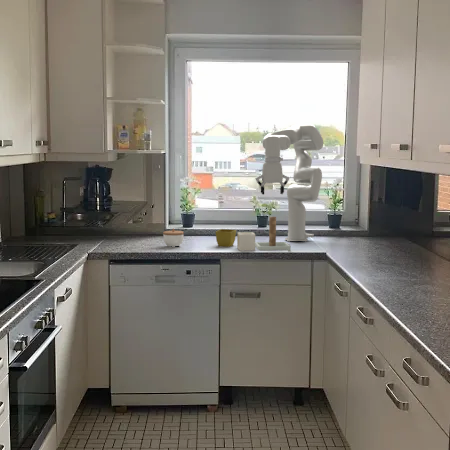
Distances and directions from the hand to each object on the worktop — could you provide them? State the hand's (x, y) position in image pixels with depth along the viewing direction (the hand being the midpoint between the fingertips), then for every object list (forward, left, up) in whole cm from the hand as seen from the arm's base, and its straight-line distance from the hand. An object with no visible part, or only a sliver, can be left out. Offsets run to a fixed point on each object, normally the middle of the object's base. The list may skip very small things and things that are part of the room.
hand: (272, 194), depth 325 cm
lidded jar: (+50, -12, -28) cm, 59 cm away
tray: (0, +2, -28) cm, 28 cm away
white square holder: (+14, +6, -28) cm, 32 cm away
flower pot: (+23, -6, -28) cm, 37 cm away
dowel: (0, +2, -27) cm, 28 cm away
